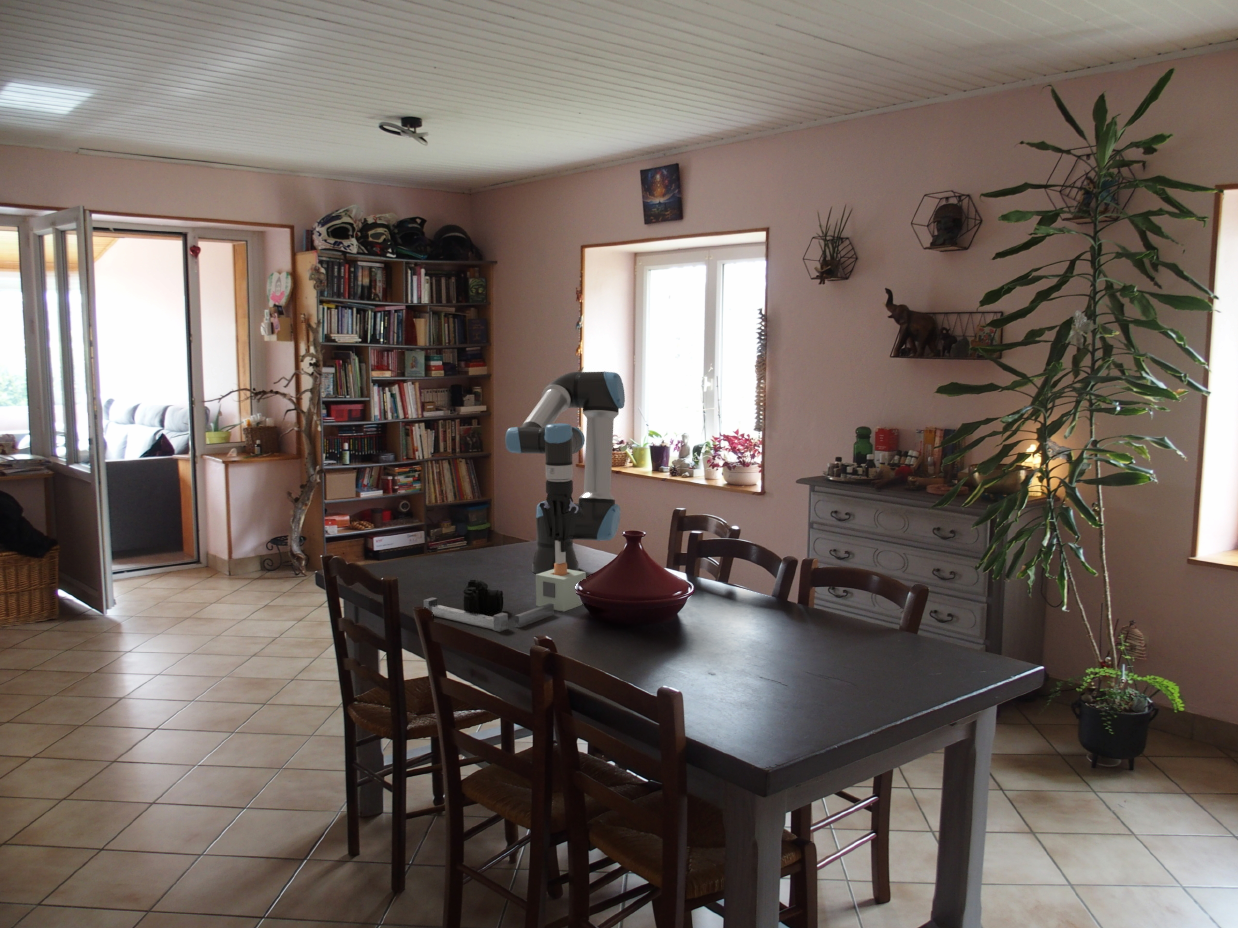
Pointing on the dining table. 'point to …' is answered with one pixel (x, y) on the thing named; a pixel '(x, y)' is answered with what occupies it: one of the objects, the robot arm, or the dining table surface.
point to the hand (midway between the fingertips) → (560, 562)
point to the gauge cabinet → (558, 589)
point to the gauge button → (560, 569)
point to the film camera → (482, 598)
